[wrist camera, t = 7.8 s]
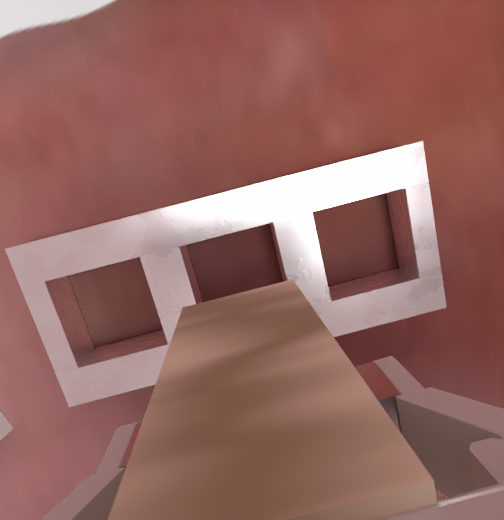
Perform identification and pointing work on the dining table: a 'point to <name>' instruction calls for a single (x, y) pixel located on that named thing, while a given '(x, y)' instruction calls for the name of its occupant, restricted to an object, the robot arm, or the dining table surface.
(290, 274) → the grey flat frame
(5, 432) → the white rounded block
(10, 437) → the dining table surface
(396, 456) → the maple block
